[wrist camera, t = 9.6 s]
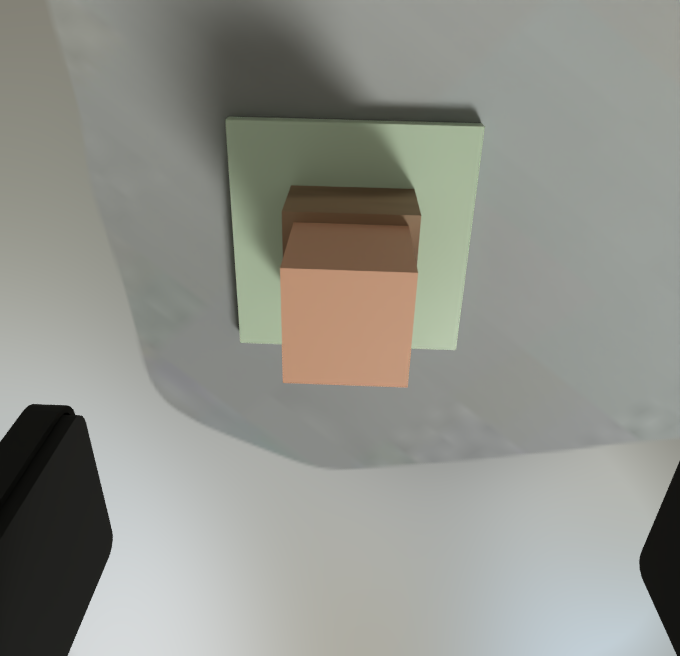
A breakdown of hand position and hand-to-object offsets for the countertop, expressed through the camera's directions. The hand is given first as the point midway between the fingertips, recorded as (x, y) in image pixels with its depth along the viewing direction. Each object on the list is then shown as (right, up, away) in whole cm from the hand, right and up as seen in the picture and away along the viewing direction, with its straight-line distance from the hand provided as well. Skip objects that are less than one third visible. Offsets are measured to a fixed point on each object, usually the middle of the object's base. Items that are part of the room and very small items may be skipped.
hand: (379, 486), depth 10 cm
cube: (0, +5, +18) cm, 19 cm away
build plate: (0, +7, +22) cm, 23 cm away
